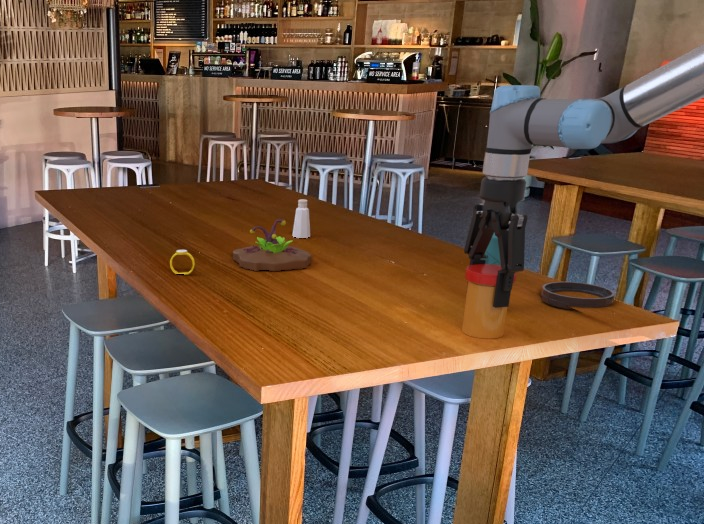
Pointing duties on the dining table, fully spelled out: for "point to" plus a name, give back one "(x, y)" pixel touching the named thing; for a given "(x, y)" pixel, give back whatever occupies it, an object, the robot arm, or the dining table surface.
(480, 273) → the cap
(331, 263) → the dining table surface
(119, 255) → the dining table surface
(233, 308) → the dining table surface
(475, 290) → the jar
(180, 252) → the gold ring with gem
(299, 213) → the pepper shaker
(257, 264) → the plant
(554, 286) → the dark grey ring
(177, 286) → the dining table surface
